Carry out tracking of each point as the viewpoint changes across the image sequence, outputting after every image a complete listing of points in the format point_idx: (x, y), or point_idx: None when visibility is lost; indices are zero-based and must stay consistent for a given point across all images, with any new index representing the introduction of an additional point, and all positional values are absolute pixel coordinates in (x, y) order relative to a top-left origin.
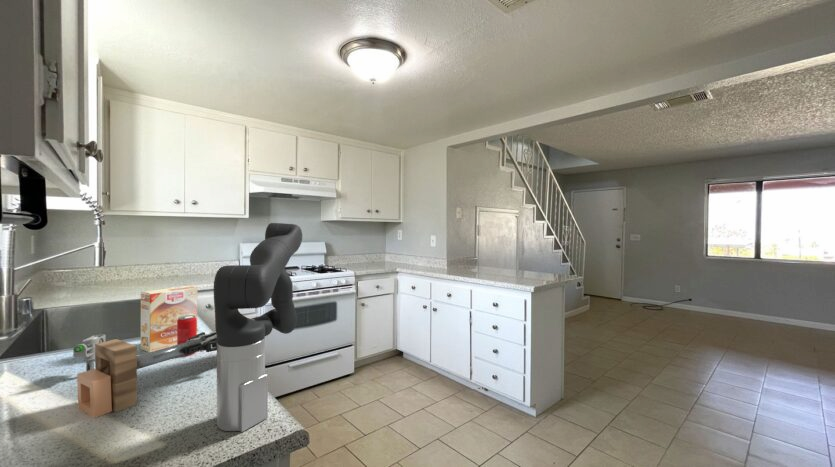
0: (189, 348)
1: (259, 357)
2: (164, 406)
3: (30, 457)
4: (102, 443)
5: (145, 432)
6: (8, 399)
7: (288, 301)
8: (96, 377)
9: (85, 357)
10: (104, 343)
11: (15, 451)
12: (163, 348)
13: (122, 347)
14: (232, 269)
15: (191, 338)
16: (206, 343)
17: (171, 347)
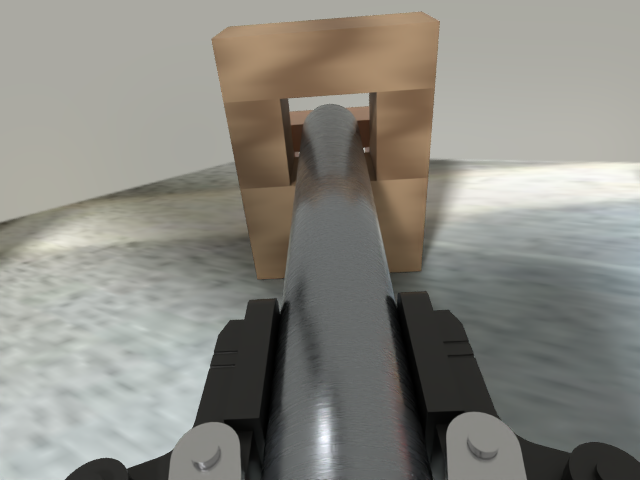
0: (227, 325)
1: None
2: (137, 313)
3: (227, 165)
4: (137, 208)
5: (68, 249)
6: (612, 163)
7: None
8: (297, 116)
9: None
10: (392, 16)
11: None
12: (343, 199)
13: (252, 29)
14: None
15: (570, 466)
16: (103, 460)
17: (317, 225)
